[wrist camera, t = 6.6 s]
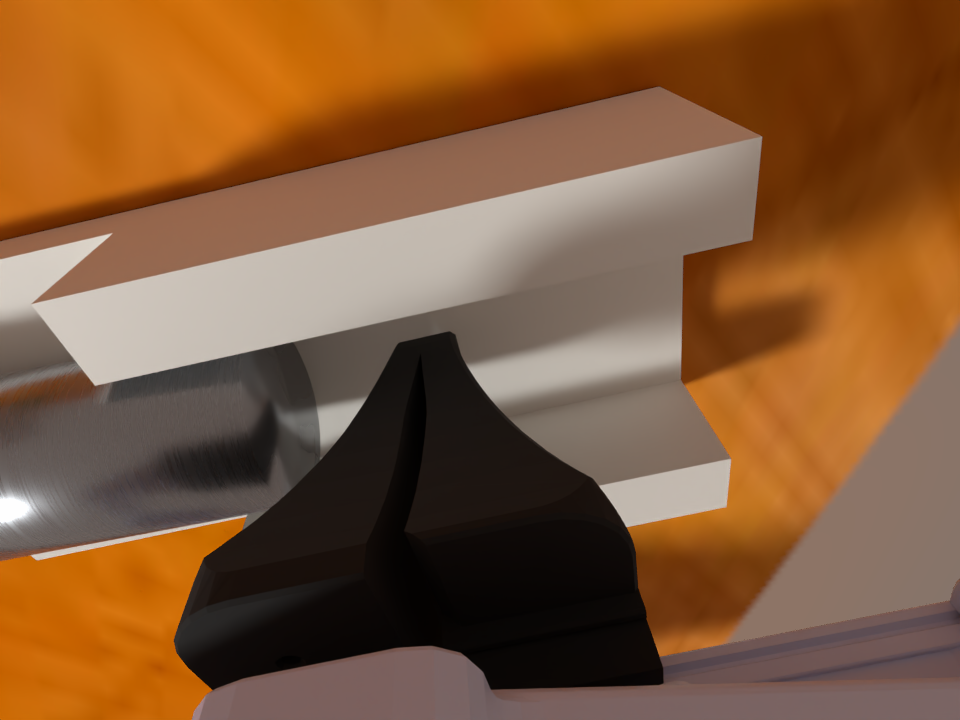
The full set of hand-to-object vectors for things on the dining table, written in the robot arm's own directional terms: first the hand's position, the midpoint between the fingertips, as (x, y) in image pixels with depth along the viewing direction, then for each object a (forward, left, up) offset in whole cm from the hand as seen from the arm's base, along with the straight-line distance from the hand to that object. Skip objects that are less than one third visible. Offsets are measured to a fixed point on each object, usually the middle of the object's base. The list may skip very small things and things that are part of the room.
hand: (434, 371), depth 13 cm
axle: (+1, +8, +1) cm, 8 cm away
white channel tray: (0, +4, -3) cm, 4 cm away
